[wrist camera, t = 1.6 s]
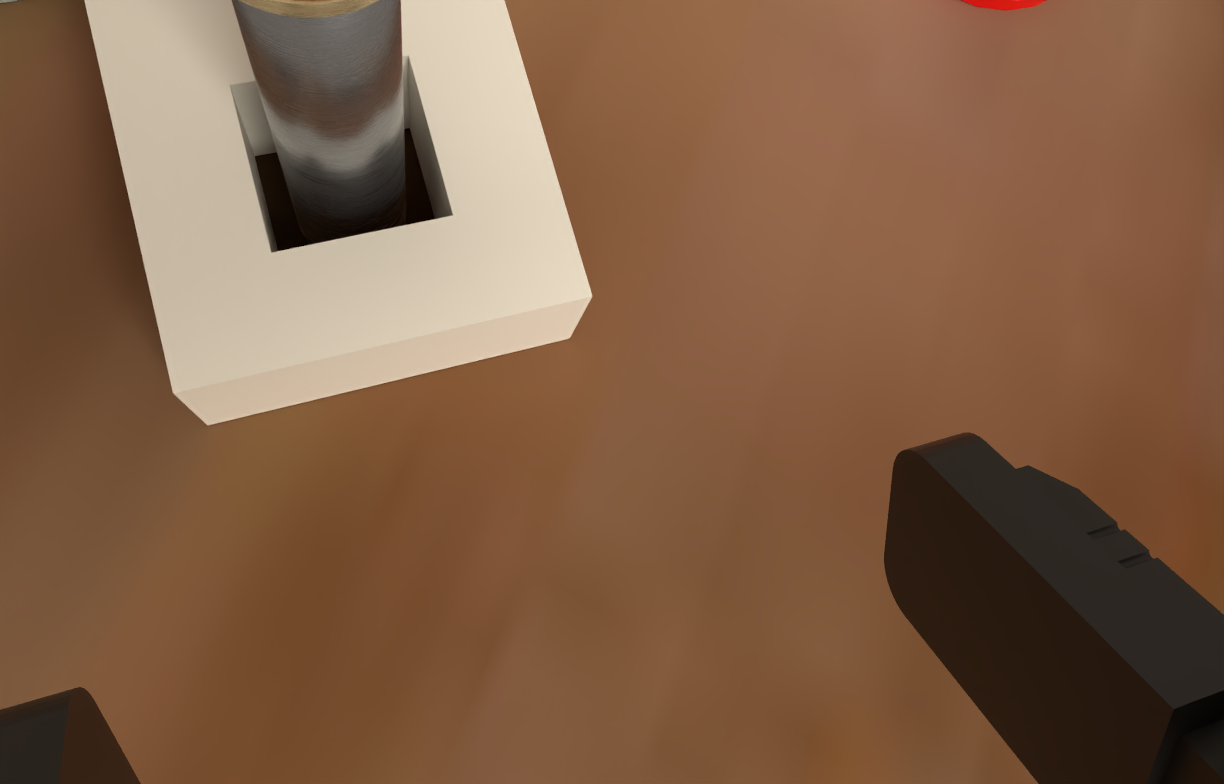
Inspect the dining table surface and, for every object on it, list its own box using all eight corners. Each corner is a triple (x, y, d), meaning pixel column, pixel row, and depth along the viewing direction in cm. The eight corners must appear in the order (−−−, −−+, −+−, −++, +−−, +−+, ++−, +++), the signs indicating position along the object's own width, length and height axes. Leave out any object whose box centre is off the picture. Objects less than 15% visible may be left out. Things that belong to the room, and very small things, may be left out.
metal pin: (296, 294, 28) (187, -1, 15) (263, 161, 29) (130, -238, 15) (440, 263, 29) (459, -42, 16) (404, 135, 30) (394, -263, 16)
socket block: (207, 425, 27) (173, 393, 23) (129, 83, 29) (84, 0, 25) (569, 338, 29) (592, 296, 26) (478, 26, 31) (487, -58, 27)
